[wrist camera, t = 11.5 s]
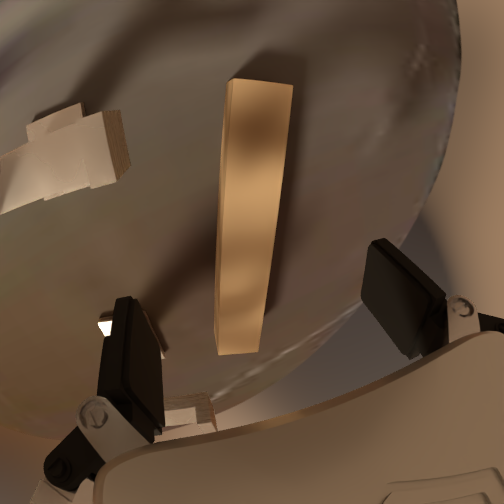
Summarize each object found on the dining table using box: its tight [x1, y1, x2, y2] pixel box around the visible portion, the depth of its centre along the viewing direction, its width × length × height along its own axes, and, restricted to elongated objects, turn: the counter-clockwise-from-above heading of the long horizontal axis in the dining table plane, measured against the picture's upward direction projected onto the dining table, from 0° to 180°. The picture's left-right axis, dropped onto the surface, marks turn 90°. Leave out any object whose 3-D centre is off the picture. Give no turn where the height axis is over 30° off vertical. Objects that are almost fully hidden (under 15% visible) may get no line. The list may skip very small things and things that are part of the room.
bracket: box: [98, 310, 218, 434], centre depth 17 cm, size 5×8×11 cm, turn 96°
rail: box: [214, 78, 293, 355], centre depth 18 cm, size 18×3×3 cm, turn 175°
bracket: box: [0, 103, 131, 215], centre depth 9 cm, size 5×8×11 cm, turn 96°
